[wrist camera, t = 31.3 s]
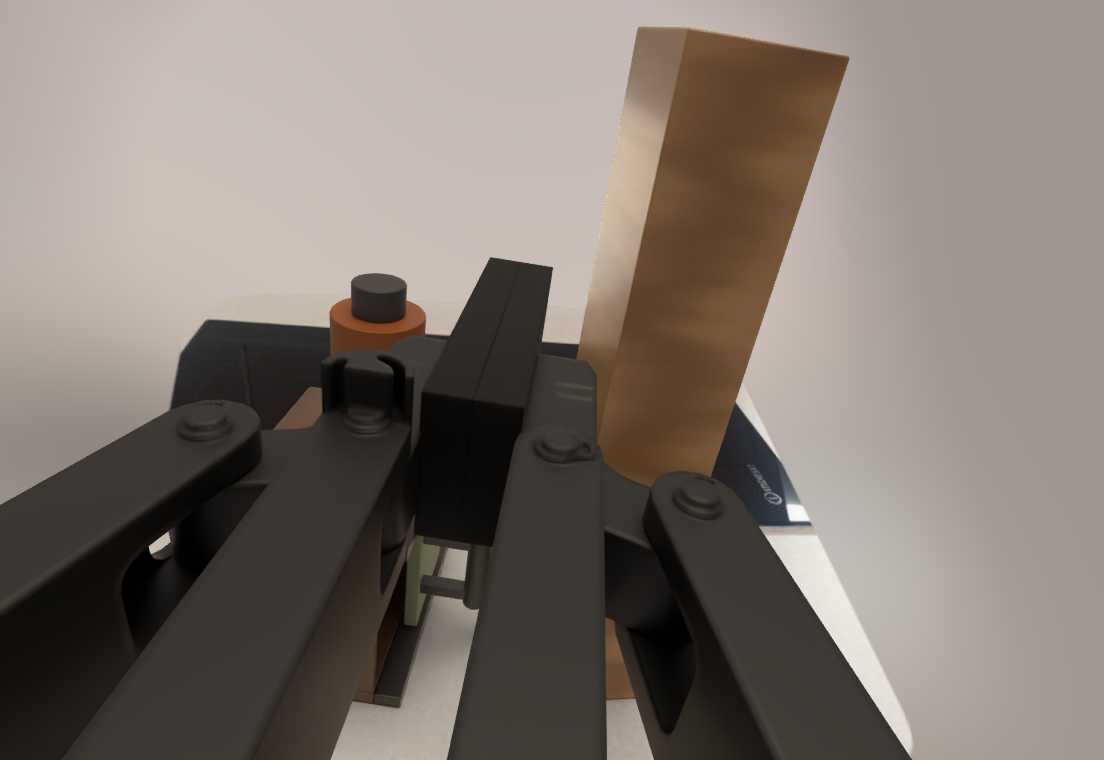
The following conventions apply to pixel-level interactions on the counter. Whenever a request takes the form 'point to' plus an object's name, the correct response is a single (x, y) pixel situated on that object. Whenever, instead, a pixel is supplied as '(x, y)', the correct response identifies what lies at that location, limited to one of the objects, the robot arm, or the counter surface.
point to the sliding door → (425, 583)
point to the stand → (694, 243)
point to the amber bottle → (374, 315)
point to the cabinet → (394, 638)
